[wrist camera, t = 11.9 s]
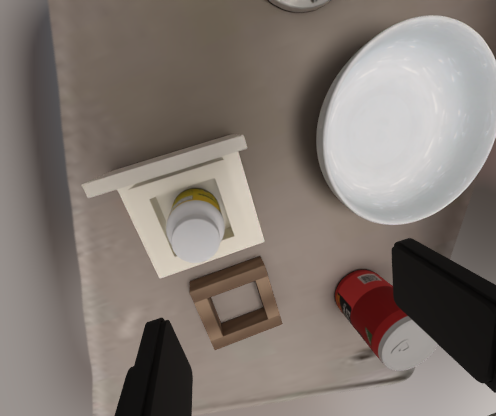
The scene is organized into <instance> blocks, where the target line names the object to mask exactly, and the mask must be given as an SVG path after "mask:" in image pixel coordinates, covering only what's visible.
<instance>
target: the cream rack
mask: <svg viewBox="0 0 496 416" xmlns="http://www.w3.org/2000/svg"><path fill="white" fill-rule="evenodd" d="M244 149H247V145H246V142H245V138H244V135H239V134H230V135H227V136H224V137H221V138H217V139H214V140H211V141H208V142H204V143H201V144H198V145H195V146H191V147H188V148H185V149H181V150H178V151H175V152H172V153H168V154H165V155H162V156H159V157H155V158H152V159H149V160H146V161H142V162H139V163H136V164H133V165H129V166H126V167H123V168H120V169H116V170H113V171H111V172H108V173H106V174H104V175H102V176H100V177H97V178H95V179H93V180H91V181H89V182H86V183H84V184H82V187H83V189H84V191H85V193H86V195H87V197H88V198H91V197H94V196H97V195H101V194H104V193H107V192H110V191H113V190H118V192H119V194H120V197H121V199H122V201H123V203H124V205H125V207H126V209H127V211H128V213H129V215H130V218H131V220H132V222H133V224H134V226H135V228H136V230H137V232H138V234H139V236H140V238H141V241H142V243H143V245H144V247H145V249H146V251H147V253H148V255H149V257H150V259H151V262H152V264H153V266H154V268H155V270H156V272H157V274H158V276H159V278H163V277H166V276H169V275H172V274H174V273H177V272H180V271H183V270H186V269H189V268H192V267H194V266H197V265H200V264H203V263H206V262H209V261H211V260H214V259H217V258H220V257H223V256H226V255H228V254H231V253H234V252H237V251H240V250H243V249H245V248H248V247H251V246H254V245H257V244H260V243H262V242H265V241H264V238H263V235H262V231H261V228H260V224H259V221H258V217H257V214H256V211H255V207H254V204H253V200H252V197H251V193H250V190H249V187H248V183H247V180H246V176H245V173H244V169H243V166H242V163H241V159H240V156H239V152H238V151H241V150H244ZM195 187H197V188H203V189H206V190H208V191H209V192H211V193H212V194H213V195H214V196H215V198H216V199H217V201H218V204H219V206H220V210H221V213H222V216H223V219H224V225H225V231H224V236H223V239H222V241H221V242H220V245H219V248H218V250H217V252H216V253H215V255H214V256H213V257H211V258H210V259H209V260H207V261H204V262H201V263H189V262H186V261H184V260H182V259H180V258H179V257H178V256H177V255H176V254H175V252H174V251H173V249H172V245H171V243H170V242H169V240H168V237H167V233H166V225H167V220H168V217H169V214H170V211H171V208H172V205H173V203H174V200H175V199H176V197H177V196H178V195H179V194H180V193H181V192H183V191H184V190H186V189H189V188H195Z"/></svg>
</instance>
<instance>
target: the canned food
mask: <svg viewBox="0 0 496 416" xmlns="http://www.w3.org/2000/svg"><path fill="white" fill-rule="evenodd" d="M335 300H336V303H337V306H338V308H339V309H340V310H341V312H342V313H343V314H344V315H345V317H346V318H347V319H348V320H349V322H350V323H351V324H352V325H353V327H354V328H355V329H356V330H357V332H358V333H359V334H360V336H361V337H362V338H363V339H364V341H365V342H366V343H367V344H368V346H369V347H370V348H371V349H372V351H373V352H374V353H375V354H376V356H377V357H378V358H379V359H380V360H381V362H382V363H384V365H385V366H386V367H388V368H389V369H391V370H396V371H403V370H408V369H411V368H413V367H415V366H417V365H419V364H421V363H422V362H423V361H425V360H426V359H427V358H428V357H429V356H430V355H431V354H432V353H433V352H434V350H435V349H436V348H437V346H438V344H437V343H436V342H435V341H434V340H433V339H432V338H431V337H430V336H429V335H428V334H427V333H426V332H424V331H423V330H422V329H421V328H420V327H419V326H418V325H417V324H416V323H415V322H414V321H413V320H412V319H411V318H410V317H409V316H407V315H406V314H405V313H404V312H403V311H402V310H401V309H400V308H399V307H398V306H397V305H396V303H395V301H394V298H393V286H392V285H391V284H389V283H388V282H387V281H385V280H384V279H383V278H382V277H380V276H379V275H378V274H376V273H374V272H372V271H368V270H357V271H354V272H352V273H350V274H348V275H347V276H346V277H344V278H343V279H342V280H341V282H340V283H339V285H338V286H337V289H336V292H335Z"/></svg>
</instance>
